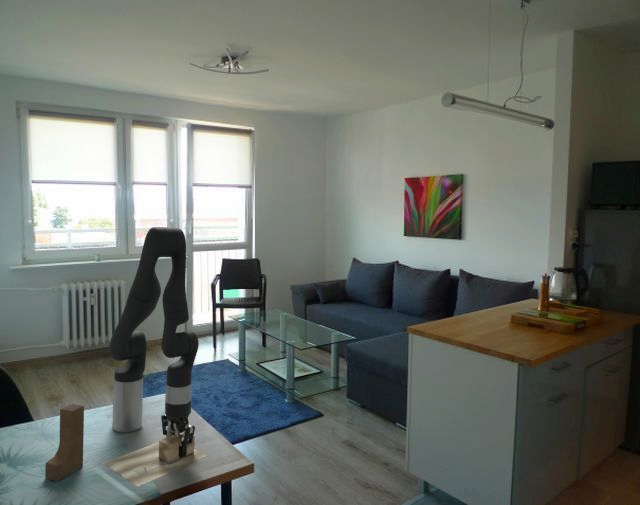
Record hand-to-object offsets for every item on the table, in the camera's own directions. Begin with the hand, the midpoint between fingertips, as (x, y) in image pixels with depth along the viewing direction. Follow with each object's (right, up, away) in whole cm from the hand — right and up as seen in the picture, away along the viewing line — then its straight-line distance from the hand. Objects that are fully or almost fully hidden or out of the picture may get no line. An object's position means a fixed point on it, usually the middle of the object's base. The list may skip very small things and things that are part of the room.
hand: (176, 453), depth 141 cm
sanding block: (0, -1, 0) cm, 1 cm away
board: (-5, -2, -2) cm, 6 cm away
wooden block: (-29, -2, -9) cm, 30 cm away
